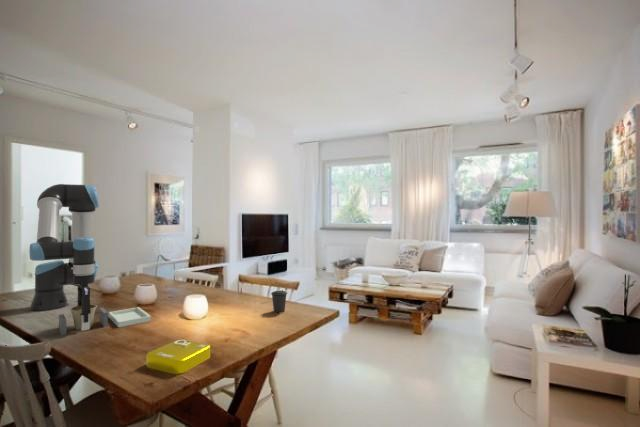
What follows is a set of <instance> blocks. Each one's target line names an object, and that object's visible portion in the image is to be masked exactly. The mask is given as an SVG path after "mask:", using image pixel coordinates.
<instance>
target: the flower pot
mask: <svg viewBox="0 0 640 427" xmlns="http://www.w3.org/2000/svg"><path fill="white" fill-rule="evenodd" d="M97 307H98V305H96V304H90V311H91V313H90V328H91V327H93V324H94V318H95V311H96V309H97ZM69 311H70V312H71V315H72V318H73V326H74V329H75V330H77V331H79V330H82V315H80V314H82V306H77V305H76V306H73V307H71V308H70V309H69ZM87 311H88V310H87Z"/></svg>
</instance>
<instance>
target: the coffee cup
mask: <svg viewBox="0 0 640 427" xmlns="http://www.w3.org/2000/svg"><path fill="white" fill-rule="evenodd" d="M270 294H271V298H272V307H273V308H272V309H273V313H275V312H277V314H279V313H278V312H282V313H284V312H285V311H286V310H285V309H286V301H287V294H288V292H287V291H284V290H275V291H272V292H271V293H270Z"/></svg>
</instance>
